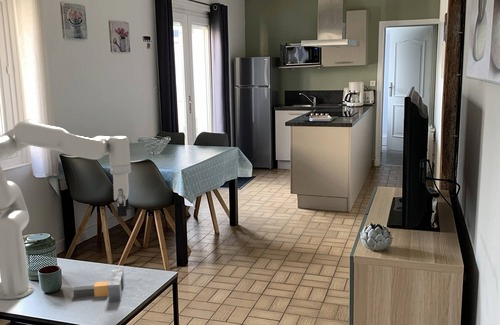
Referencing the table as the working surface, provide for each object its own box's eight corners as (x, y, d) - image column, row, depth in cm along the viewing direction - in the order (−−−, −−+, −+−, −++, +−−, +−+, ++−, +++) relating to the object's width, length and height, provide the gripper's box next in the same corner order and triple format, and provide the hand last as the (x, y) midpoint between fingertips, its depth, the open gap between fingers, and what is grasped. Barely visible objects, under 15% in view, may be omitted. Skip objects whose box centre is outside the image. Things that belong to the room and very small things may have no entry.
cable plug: (73, 298, 186) (72, 288, 185) (75, 293, 189) (74, 283, 189) (108, 295, 187) (107, 285, 187) (109, 290, 191) (108, 281, 190)
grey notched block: (109, 302, 182) (107, 285, 180) (114, 284, 197) (112, 268, 196) (120, 301, 182) (119, 284, 181) (124, 283, 198) (123, 267, 197)
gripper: (112, 165, 197) (115, 207, 200) (107, 174, 180) (111, 219, 183) (132, 164, 198) (135, 206, 201) (128, 172, 181) (132, 218, 184)
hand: (123, 212), depth 192 cm, fingers open, 9 cm apart
